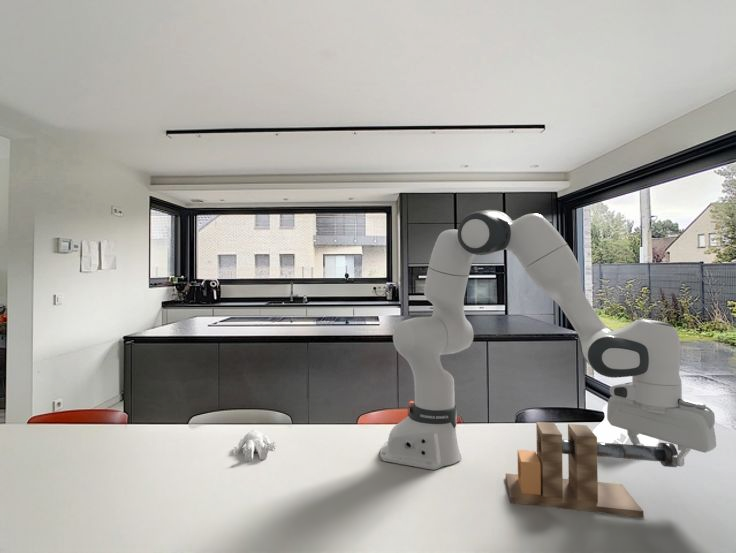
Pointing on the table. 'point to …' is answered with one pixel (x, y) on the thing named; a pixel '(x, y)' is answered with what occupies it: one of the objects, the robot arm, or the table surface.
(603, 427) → the handgun
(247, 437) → the toy creature
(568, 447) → the shaft
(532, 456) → the block
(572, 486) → the threaded rod press
